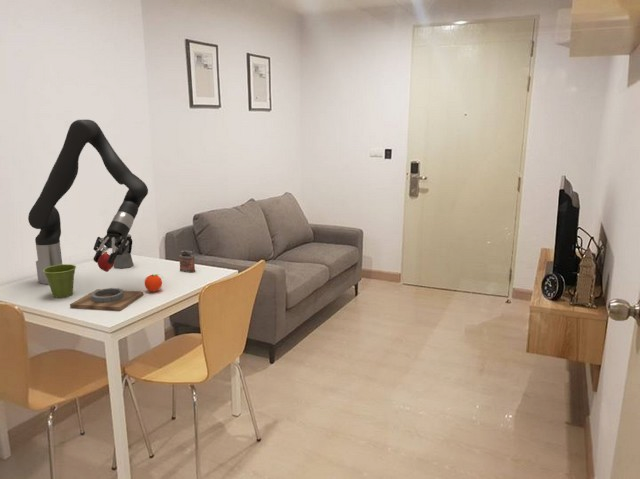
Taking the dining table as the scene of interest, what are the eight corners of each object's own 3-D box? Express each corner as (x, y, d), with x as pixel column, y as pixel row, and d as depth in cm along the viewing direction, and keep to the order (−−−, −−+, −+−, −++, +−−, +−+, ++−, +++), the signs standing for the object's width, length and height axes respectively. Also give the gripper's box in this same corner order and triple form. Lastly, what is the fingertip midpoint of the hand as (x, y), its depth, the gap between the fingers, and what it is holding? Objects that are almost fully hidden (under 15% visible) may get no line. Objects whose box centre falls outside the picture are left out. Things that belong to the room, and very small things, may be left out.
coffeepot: (107, 265, 245) (104, 229, 241) (125, 261, 253) (122, 226, 249) (124, 271, 236) (121, 233, 232) (142, 267, 243) (139, 230, 239)
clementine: (160, 286, 214) (159, 270, 213) (168, 290, 209) (166, 274, 208) (142, 290, 209) (140, 274, 207) (149, 295, 204) (148, 278, 202)
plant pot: (41, 295, 203) (37, 268, 200) (71, 288, 211) (68, 262, 209) (53, 302, 195) (50, 274, 193) (84, 294, 204) (81, 267, 201)
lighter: (178, 271, 237) (176, 250, 235) (182, 269, 240) (181, 249, 238) (192, 273, 234) (191, 252, 232) (196, 271, 237) (195, 250, 235)
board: (70, 308, 189) (69, 304, 189) (97, 292, 206) (97, 289, 206) (120, 311, 186) (119, 307, 186) (143, 295, 204) (143, 291, 203)
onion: (104, 274, 190) (102, 254, 189) (95, 272, 193) (93, 252, 192) (118, 271, 195) (116, 251, 193) (108, 268, 198) (106, 249, 196)
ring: (85, 301, 191) (85, 296, 191) (102, 292, 202) (102, 287, 202) (113, 303, 190) (113, 298, 189) (129, 293, 201) (128, 288, 200)
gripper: (100, 219, 199) (81, 255, 191) (131, 221, 195) (112, 258, 186) (110, 229, 205) (92, 265, 197) (140, 232, 201) (123, 268, 193)
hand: (102, 262), depth 192 cm, fingers closed on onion, 5 cm apart
